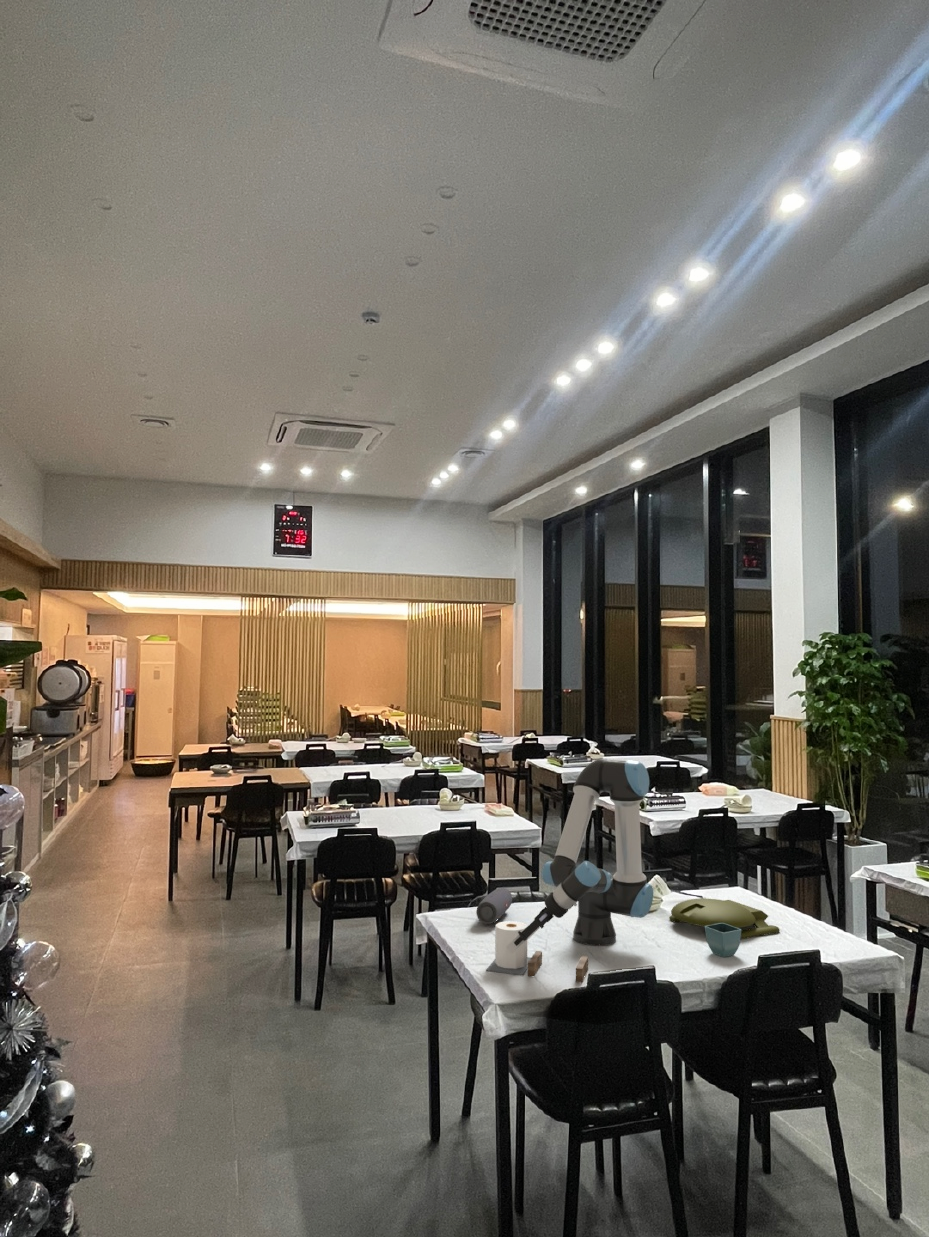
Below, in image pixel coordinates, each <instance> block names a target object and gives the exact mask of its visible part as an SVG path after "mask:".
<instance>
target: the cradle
mask: <svg viewBox="0 0 929 1237" xmlns="http://www.w3.org/2000/svg"><path fill="white" fill-rule="evenodd" d="M542 965H543V951H541V950H535V951H534V954H533V955H532V956H531V959H530V961H529V962H528V969H527V976H528V977H532V976H534V977H535V976H536V975H537V973H538V971H539V970H540V968H541V967H542ZM540 966H541V967H540ZM538 969H539V970H538ZM588 971H589V956H585V955H581V957H580V959H579V960H578V963H577V965H576V967H575V982H576V983H583V982H584V979H585V977H586V975H587V973H588ZM584 976H585V977H584Z"/></svg>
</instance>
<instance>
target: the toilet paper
mask: <svg viewBox="0 0 929 1237" xmlns="http://www.w3.org/2000/svg"><path fill="white" fill-rule="evenodd" d="M527 927H528V926H527V924H526V923H523V922H521V921H516V920H515V921H514V920H513V921H512V920H511V921H509V920H507V921H506V920H505V921H499V922H498V923H496V924H495V927H494V928H495V930H494V931H495V932H494V933H495V934H494V936H495V939H494V940H495V941H494V943H495V947H494V950H495V952H494V957H495V958H494V960H495V963H496V964H497V966H500V967H503V968H510V969H517V968H522V967H525V966H526V965H527V957H528V940H526V941H525V942H524V943H523V944H522V945H521V946H520V947H519V948H517V949H516V950H515V951H514V952H513V953H511V952H510V951H509V950H508V948H507V946H508V945H509V944H510V943H511V942H512V941H513V940H514V939H515V938H516V937H517V936H518V935H519V933H518V932H519V931H520V932H522V931H523V930H524V929H525V928H527Z"/></svg>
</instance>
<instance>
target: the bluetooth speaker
mask: <svg viewBox="0 0 929 1237" xmlns="http://www.w3.org/2000/svg"><path fill="white" fill-rule="evenodd" d="M512 903H513V896H512V893H511V891H510V890H509V889H507V888H506V887H499V888H496V889H494V890H492V891H491V892H490V893H489V894H487V895H486V896H485V897H484V898H483V899H482V900H481V901H480V902H479V904H478V905H477V908H476V911H475V912H476V917H477V919H478V920H479V922H481V923H483V924H484V925H485V924H486V925H491V924H494V923H493V922H495V921H496V920H497V919H499V918H500V917H502V916H503V915H504V914H505V913H506V912H507V911H508V909H509V908H510V907H511V906H512ZM500 919H501V918H500ZM500 919H499V920H500ZM495 923H496V922H495Z"/></svg>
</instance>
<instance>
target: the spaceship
mask: <svg viewBox="0 0 929 1237" xmlns="http://www.w3.org/2000/svg"><path fill="white" fill-rule="evenodd" d="M670 912H671V913H670V915H669V920H670V921H671V922H673V921H675V922H674V923H681V922H680V921H683V922H684V923H687V924H691V925H694V926H700V927H705V926H708V925H713V924H718V923H725V924H728V925H730V926H733V927H736V928H739V929H741V928H743V929H741V938H740V940H743V939H748V938H747V937H749V938H753V936H756V937H759V936H758V935H762V936H765V935H764V934H768V935H770V934H769V933H774V934H777V932H778V933H779V932H780V930H781V929H780V928H779V927H778V926H776V925H772V924H771V925H770V924H768V923H767V922H766V921H767V918H768V917H769V915H768V914H766V913H765V912H764V911H763V910H761V909H758V908H755V907H752V906H749V905H745V904H742V903H739V902H736V901H734V900H731V899H717V898H693V899H687V900H685V901H684V900H683V901H681V902H678V903H677V904H675V905H674V906H673V907H672V909H671V911H670ZM683 922H682V923H683ZM750 926H754V927H752V928H751V927H750ZM745 927H750V928H745ZM744 928H745V929H744Z"/></svg>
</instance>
